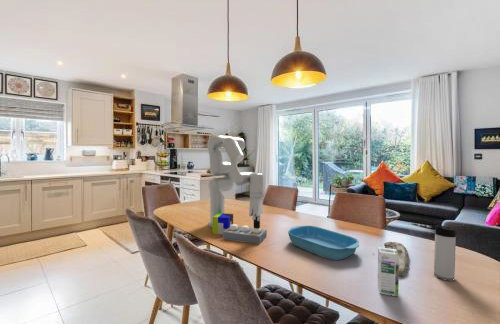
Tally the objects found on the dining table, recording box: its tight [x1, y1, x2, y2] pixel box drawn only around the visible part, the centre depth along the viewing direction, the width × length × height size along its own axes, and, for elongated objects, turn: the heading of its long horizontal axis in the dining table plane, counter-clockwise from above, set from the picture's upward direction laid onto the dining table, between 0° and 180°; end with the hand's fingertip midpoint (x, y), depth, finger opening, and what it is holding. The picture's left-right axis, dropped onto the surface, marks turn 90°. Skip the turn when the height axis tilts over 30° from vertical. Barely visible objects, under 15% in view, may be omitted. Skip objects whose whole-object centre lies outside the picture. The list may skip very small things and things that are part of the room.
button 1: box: [230, 223, 239, 231], centre depth 142 cm, size 4×4×4 cm
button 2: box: [252, 226, 261, 234], centre depth 137 cm, size 4×4×4 cm
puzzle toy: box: [212, 213, 234, 235], centre depth 151 cm, size 10×10×10 cm
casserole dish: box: [287, 225, 360, 261], centre depth 124 cm, size 37×22×7 cm, turn 40°
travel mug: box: [433, 225, 457, 281], centre depth 95 cm, size 6×7×20 cm
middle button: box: [240, 225, 250, 233], centre depth 139 cm, size 4×4×4 cm
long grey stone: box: [383, 241, 410, 277], centre depth 111 cm, size 35×5×10 cm
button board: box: [222, 226, 268, 245], centre depth 140 cm, size 12×22×4 cm, turn 69°
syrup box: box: [377, 246, 400, 298], centre depth 85 cm, size 6×6×14 cm
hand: (256, 227), depth 137 cm, fingers closed
